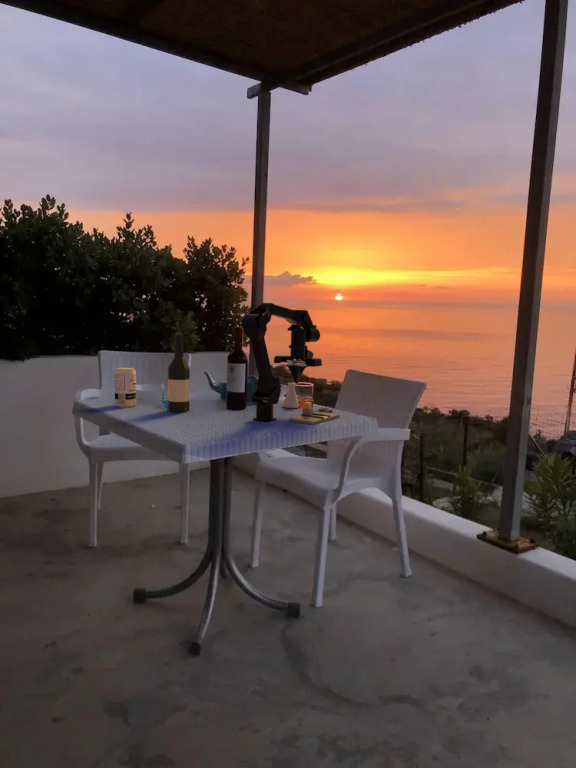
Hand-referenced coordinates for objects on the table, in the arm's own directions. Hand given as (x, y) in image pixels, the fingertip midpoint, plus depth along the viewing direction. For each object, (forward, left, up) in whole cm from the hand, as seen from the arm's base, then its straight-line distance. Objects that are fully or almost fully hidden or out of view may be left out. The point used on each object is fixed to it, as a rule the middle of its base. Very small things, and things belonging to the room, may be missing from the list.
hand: (296, 383), depth 229 cm
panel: (-4, -11, -12) cm, 17 cm away
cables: (+9, -7, -12) cm, 17 cm away
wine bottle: (-26, +37, -12) cm, 47 cm away
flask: (+12, +10, -12) cm, 20 cm away
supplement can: (-32, +60, -12) cm, 69 cm away
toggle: (-3, -7, -11) cm, 14 cm away
